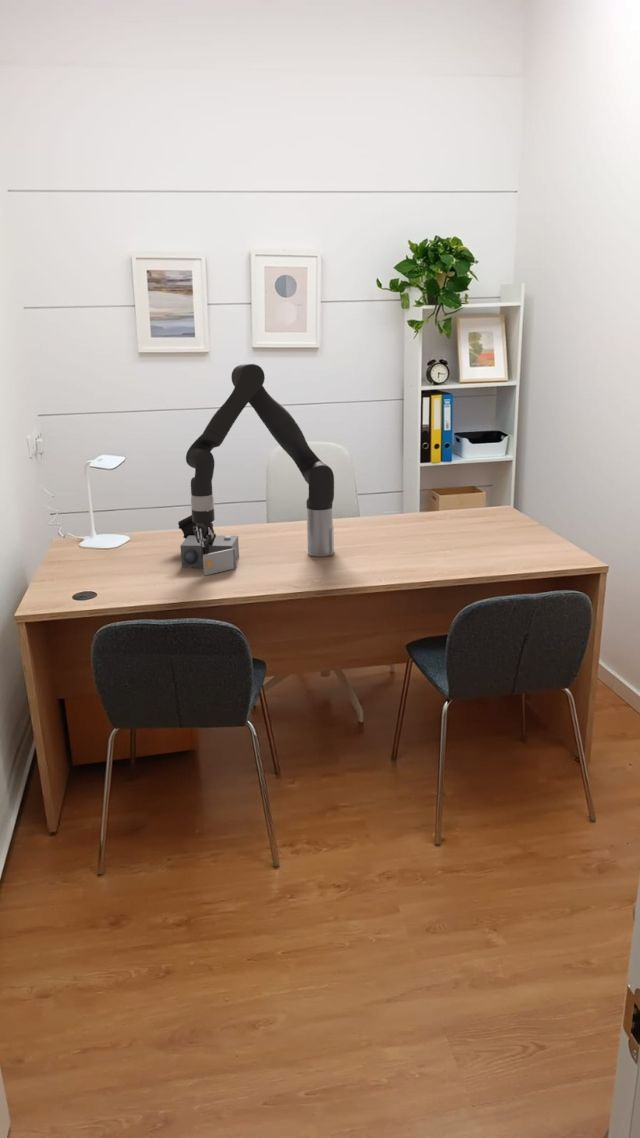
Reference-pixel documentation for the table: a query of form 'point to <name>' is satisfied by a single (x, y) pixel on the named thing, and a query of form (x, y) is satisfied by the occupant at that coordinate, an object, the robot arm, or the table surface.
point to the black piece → (188, 526)
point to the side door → (219, 561)
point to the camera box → (193, 554)
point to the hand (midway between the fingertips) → (205, 556)
